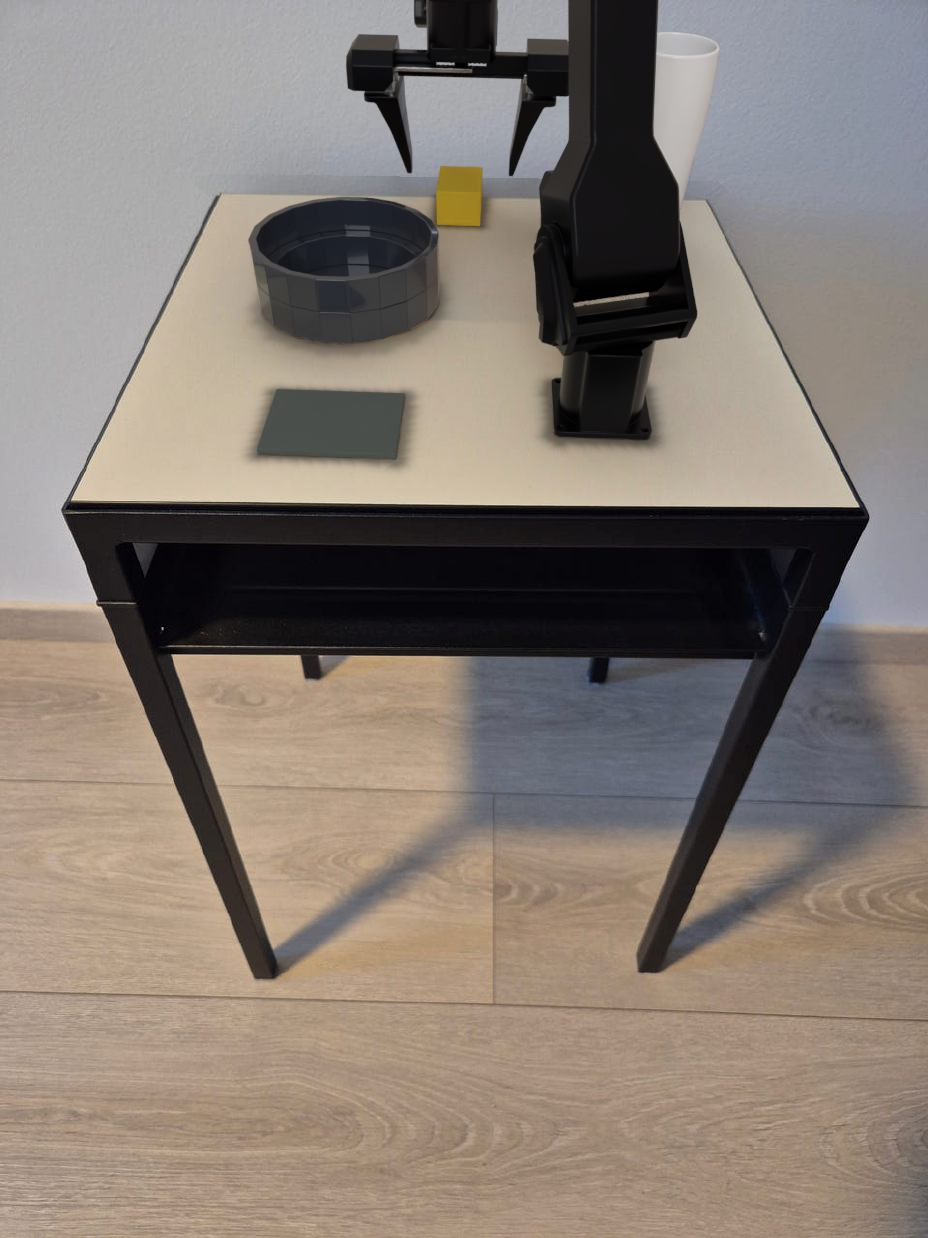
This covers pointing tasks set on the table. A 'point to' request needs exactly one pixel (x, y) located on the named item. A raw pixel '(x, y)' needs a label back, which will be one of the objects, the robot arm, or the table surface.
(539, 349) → the table surface
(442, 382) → the table surface
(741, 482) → the table surface
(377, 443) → the mat
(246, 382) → the table surface
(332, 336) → the bowl
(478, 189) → the sponge
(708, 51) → the white cup
